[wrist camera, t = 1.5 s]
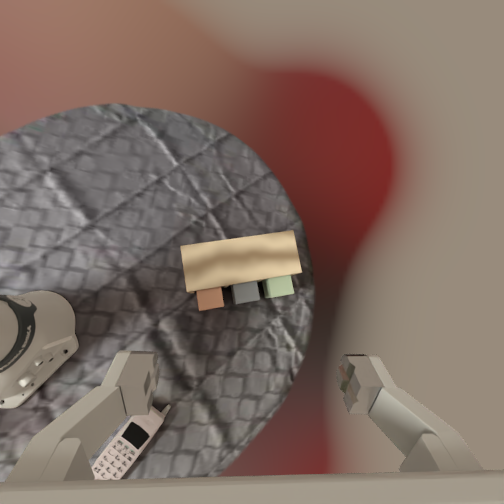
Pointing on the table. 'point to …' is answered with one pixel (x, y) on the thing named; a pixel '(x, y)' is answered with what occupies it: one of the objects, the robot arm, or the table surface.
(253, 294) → the slate key
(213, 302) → the terracotta key
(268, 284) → the sage key
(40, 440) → the robot arm
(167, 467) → the table surface
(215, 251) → the key console
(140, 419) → the mobile phone
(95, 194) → the table surface
